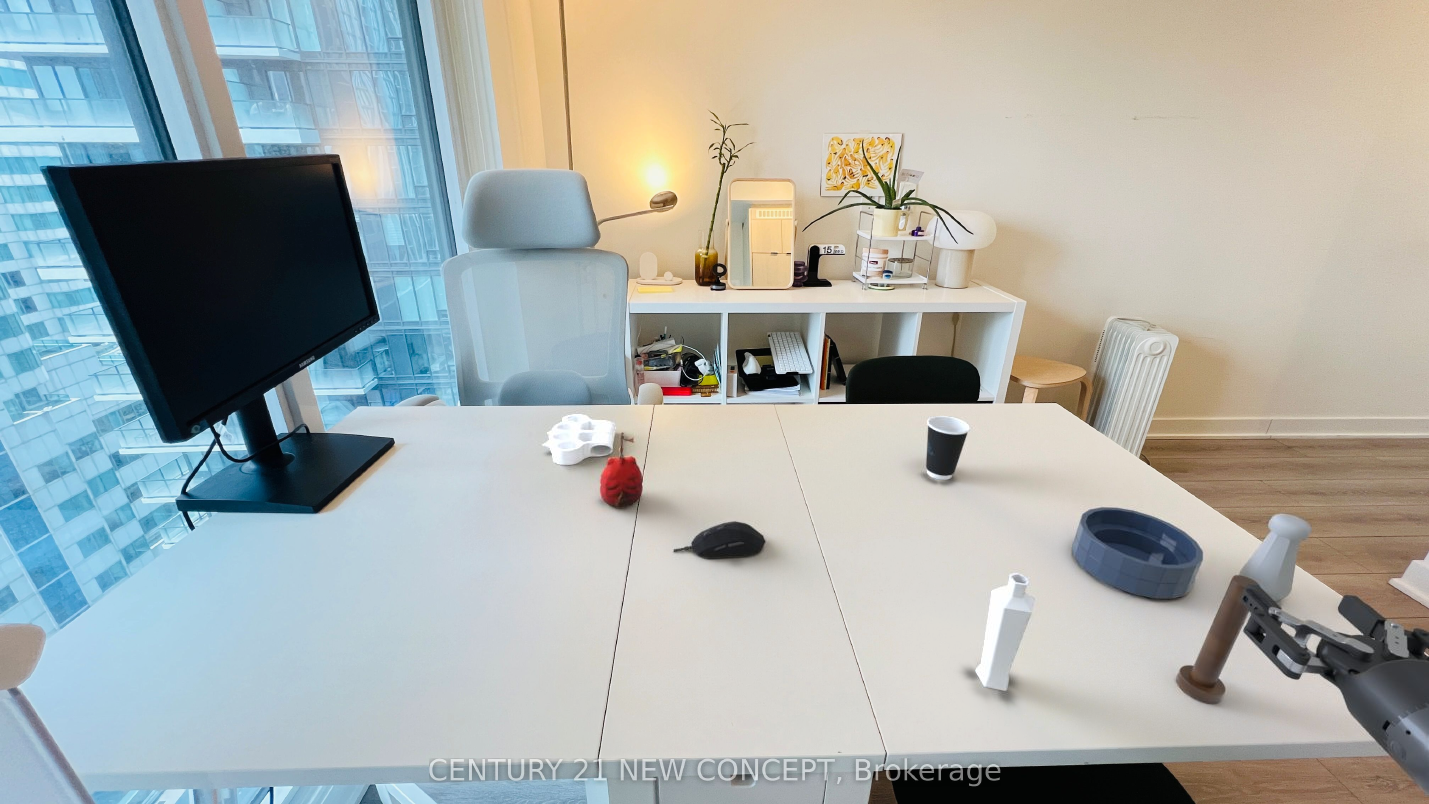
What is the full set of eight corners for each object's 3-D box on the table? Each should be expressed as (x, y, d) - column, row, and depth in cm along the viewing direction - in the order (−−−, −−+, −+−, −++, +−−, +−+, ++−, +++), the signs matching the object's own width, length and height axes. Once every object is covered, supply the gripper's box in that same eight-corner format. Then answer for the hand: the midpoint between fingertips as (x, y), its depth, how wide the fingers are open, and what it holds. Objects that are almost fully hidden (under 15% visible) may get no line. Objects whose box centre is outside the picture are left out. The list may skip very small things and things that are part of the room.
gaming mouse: (671, 539, 98) (671, 519, 96) (759, 532, 100) (760, 512, 98) (675, 564, 92) (675, 542, 90) (768, 555, 94) (770, 534, 93)
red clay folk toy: (640, 488, 112) (637, 416, 106) (646, 508, 106) (643, 432, 100) (599, 493, 110) (594, 419, 104) (602, 514, 104) (597, 437, 98)
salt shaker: (1295, 607, 85) (1334, 532, 80) (1256, 607, 85) (1292, 531, 80) (1261, 580, 91) (1294, 508, 86) (1223, 580, 91) (1255, 507, 86)
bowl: (1190, 562, 95) (1203, 530, 92) (1188, 617, 83) (1203, 583, 81) (1079, 526, 103) (1088, 496, 101) (1063, 572, 92) (1073, 539, 89)
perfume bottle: (993, 698, 70) (1021, 597, 64) (966, 670, 74) (990, 572, 68) (1022, 687, 72) (1052, 587, 66) (994, 660, 75) (1020, 563, 70)
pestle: (1220, 686, 72) (1270, 579, 66) (1221, 710, 69) (1274, 601, 63) (1176, 668, 75) (1220, 564, 69) (1175, 691, 72) (1221, 584, 65)
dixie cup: (968, 476, 119) (979, 426, 114) (944, 487, 114) (954, 436, 110) (934, 460, 125) (943, 412, 120) (910, 470, 120) (918, 421, 116)
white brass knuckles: (611, 464, 121) (537, 466, 119) (617, 426, 137) (552, 427, 136) (610, 449, 119) (535, 451, 118) (616, 413, 136) (551, 414, 135)
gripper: (1595, 721, 42) (1394, 574, 57) (1365, 691, 44) (1229, 556, 59) (1537, 792, 45) (1360, 634, 60) (1323, 761, 47) (1203, 616, 62)
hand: (1295, 596), depth 59 cm, fingers open, 8 cm apart
